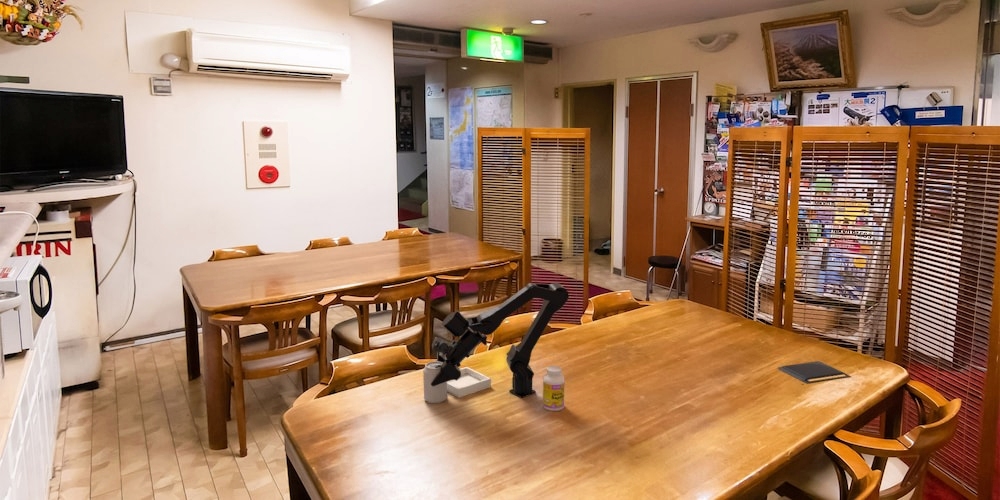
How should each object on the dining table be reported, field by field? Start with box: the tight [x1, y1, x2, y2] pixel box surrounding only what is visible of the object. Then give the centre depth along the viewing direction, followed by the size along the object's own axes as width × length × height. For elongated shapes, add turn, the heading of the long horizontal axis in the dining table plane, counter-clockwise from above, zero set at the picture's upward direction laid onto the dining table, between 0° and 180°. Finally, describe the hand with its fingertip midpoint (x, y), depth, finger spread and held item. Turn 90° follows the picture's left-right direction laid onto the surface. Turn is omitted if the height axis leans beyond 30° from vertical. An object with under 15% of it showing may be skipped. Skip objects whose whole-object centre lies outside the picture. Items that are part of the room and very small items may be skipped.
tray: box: [447, 366, 492, 399], centre depth 209 cm, size 14×14×3 cm
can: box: [422, 360, 448, 404], centre depth 197 cm, size 8×8×12 cm
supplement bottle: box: [542, 365, 566, 412], centre depth 192 cm, size 7×7×13 cm
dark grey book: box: [777, 360, 852, 385], centre depth 220 cm, size 20×2×15 cm
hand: (430, 380), depth 197 cm, fingers closed on can, 7 cm apart
